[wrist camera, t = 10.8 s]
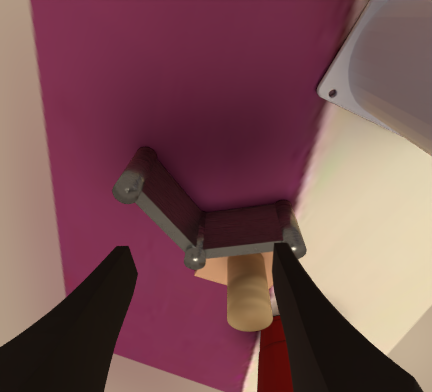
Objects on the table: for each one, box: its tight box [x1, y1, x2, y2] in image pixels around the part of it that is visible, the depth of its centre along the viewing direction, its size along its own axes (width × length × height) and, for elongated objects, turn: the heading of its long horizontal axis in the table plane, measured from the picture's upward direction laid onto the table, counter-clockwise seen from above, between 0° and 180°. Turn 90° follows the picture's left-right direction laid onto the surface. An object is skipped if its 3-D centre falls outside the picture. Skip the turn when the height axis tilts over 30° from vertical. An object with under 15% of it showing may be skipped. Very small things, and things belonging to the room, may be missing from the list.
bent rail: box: [112, 147, 306, 270], centre depth 21 cm, size 14×6×5 cm, turn 67°
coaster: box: [194, 252, 273, 289], centre depth 26 cm, size 8×8×1 cm
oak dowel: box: [227, 253, 273, 332], centre depth 24 cm, size 4×4×6 cm
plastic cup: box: [257, 315, 293, 392], centre depth 28 cm, size 11×11×12 cm
